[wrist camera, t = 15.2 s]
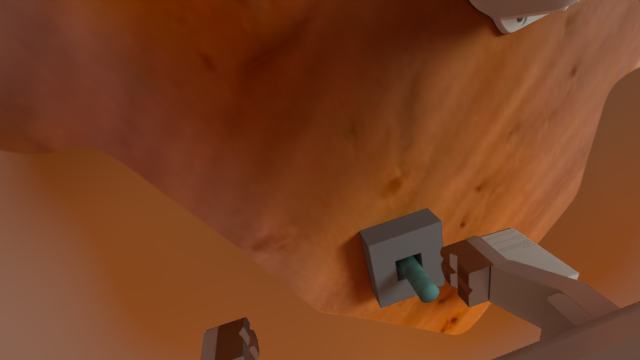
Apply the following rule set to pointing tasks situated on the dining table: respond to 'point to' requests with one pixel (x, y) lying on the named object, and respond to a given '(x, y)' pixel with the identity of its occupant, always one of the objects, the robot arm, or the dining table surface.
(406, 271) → the teal peg
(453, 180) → the dining table surface
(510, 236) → the supplement box
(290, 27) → the dining table surface
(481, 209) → the dining table surface
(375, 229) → the hole block
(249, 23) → the dining table surface
